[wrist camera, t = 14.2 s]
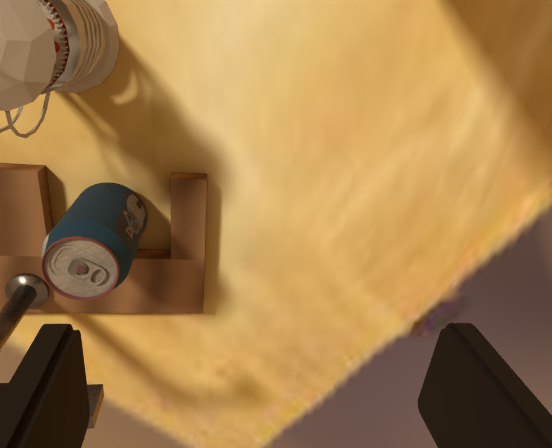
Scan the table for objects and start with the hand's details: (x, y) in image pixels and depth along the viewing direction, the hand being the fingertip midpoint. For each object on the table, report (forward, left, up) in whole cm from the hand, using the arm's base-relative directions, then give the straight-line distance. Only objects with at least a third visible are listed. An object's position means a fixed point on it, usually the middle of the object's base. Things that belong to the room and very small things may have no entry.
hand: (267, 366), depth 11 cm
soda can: (+11, +10, -34) cm, 37 cm away
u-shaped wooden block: (+13, +14, -33) cm, 38 cm away
